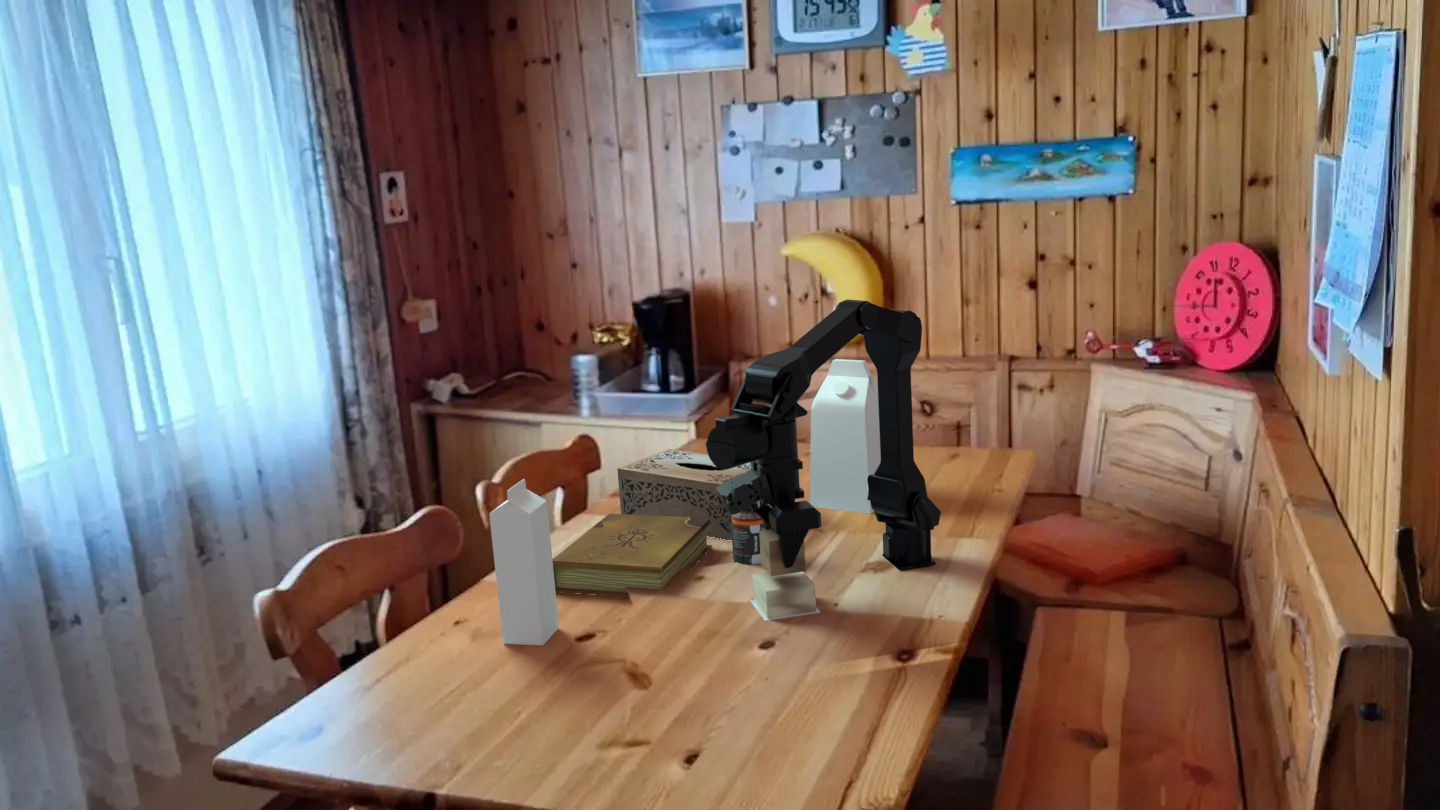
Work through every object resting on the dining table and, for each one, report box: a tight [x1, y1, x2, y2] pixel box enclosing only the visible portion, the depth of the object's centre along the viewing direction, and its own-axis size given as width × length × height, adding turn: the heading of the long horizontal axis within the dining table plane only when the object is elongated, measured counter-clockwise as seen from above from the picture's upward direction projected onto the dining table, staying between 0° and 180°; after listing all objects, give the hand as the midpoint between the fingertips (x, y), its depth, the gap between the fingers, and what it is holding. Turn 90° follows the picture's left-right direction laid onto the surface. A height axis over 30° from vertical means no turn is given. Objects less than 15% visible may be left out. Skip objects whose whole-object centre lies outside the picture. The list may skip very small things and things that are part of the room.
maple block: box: [752, 571, 817, 619], centre depth 170 cm, size 7×7×4 cm
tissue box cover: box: [616, 448, 751, 541], centre depth 214 cm, size 26×14×10 cm, turn 53°
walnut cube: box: [759, 529, 807, 576], centre depth 168 cm, size 5×5×5 cm
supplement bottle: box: [731, 506, 766, 565], centre depth 189 cm, size 6×6×11 cm
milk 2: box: [809, 358, 881, 515], centre depth 217 cm, size 12×12×26 cm
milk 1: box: [488, 478, 560, 647], centre depth 166 cm, size 6×6×22 cm
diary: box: [552, 513, 713, 598], centre depth 192 cm, size 23×19×6 cm
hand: (782, 560), depth 169 cm, fingers closed on walnut cube, 5 cm apart
